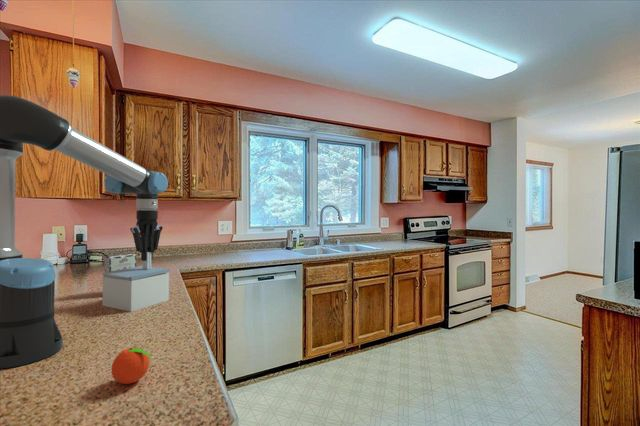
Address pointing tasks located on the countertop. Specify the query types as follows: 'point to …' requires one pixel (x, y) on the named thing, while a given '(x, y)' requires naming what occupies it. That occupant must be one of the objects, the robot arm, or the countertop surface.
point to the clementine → (130, 365)
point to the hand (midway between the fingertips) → (147, 268)
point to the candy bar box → (119, 262)
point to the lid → (135, 273)
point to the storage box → (135, 292)
